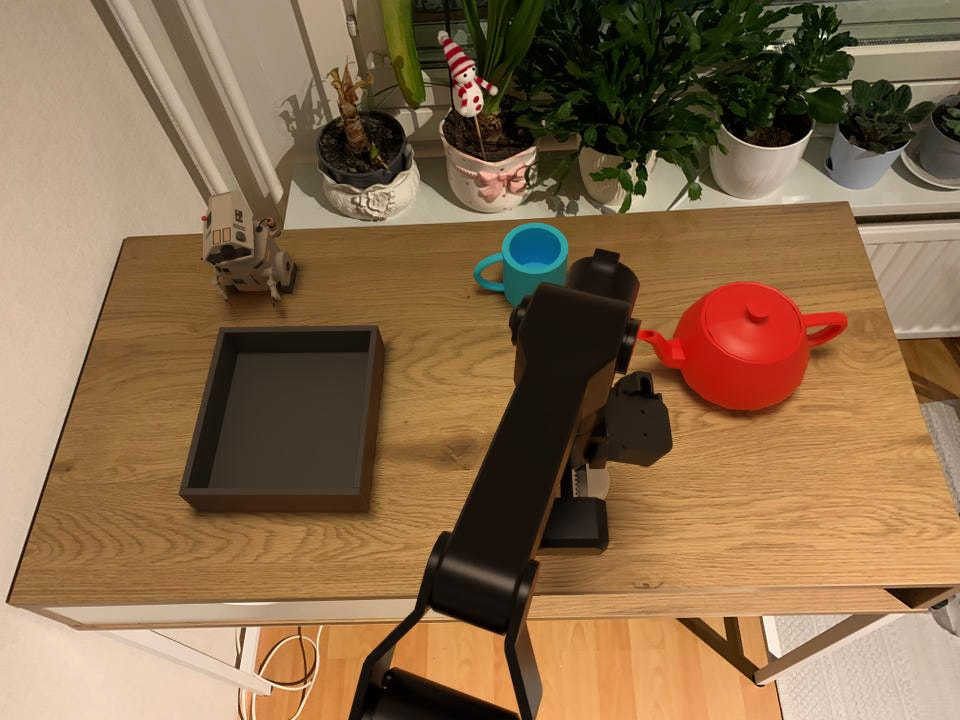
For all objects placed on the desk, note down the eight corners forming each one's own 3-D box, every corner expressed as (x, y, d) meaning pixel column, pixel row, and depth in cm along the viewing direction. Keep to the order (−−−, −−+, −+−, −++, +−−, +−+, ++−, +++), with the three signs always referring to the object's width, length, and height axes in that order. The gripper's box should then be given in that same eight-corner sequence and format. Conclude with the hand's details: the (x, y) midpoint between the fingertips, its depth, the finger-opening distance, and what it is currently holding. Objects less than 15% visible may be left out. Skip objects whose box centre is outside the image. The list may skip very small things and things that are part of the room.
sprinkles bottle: (601, 509, 80) (614, 460, 69) (594, 548, 78) (606, 505, 66) (560, 499, 81) (566, 450, 69) (552, 538, 79) (557, 494, 67)
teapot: (804, 301, 93) (840, 239, 82) (849, 408, 85) (895, 354, 74) (611, 324, 93) (622, 264, 82) (638, 434, 84) (654, 383, 74)
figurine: (218, 328, 95) (171, 255, 83) (237, 259, 101) (196, 182, 89) (286, 328, 95) (249, 255, 82) (301, 259, 101) (268, 181, 88)
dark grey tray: (368, 512, 81) (359, 494, 76) (198, 512, 82) (178, 494, 78) (385, 349, 92) (378, 324, 88) (235, 350, 93) (219, 326, 89)
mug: (560, 260, 98) (562, 219, 91) (569, 309, 94) (573, 270, 87) (472, 269, 98) (468, 229, 91) (477, 319, 94) (474, 281, 87)
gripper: (691, 521, 50) (656, 579, 63) (660, 301, 60) (635, 391, 73) (530, 522, 51) (529, 579, 64) (524, 304, 60) (524, 393, 74)
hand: (559, 479), depth 69 cm, fingers open, 9 cm apart
